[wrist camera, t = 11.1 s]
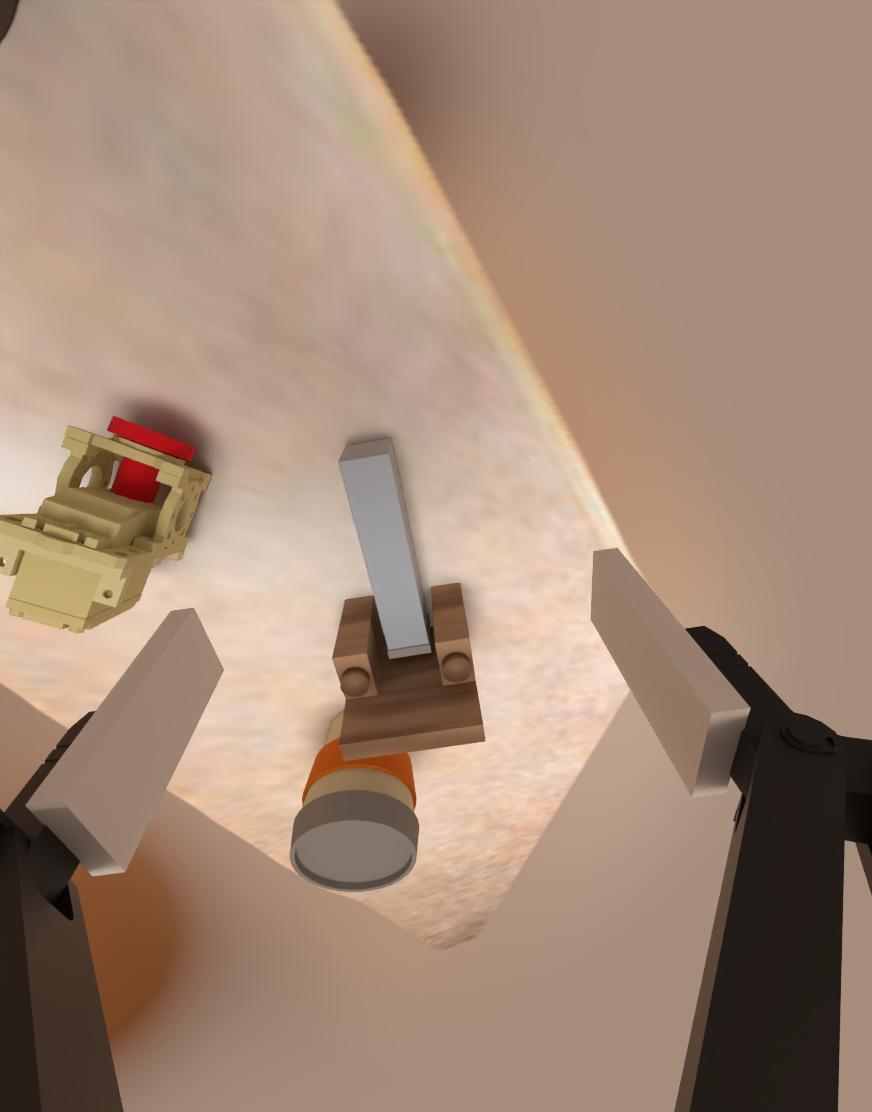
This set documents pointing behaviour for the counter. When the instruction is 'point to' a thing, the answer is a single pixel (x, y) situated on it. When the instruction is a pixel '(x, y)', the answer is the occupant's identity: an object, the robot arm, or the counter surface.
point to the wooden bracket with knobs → (406, 683)
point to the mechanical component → (100, 528)
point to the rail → (387, 545)
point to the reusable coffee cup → (356, 820)
